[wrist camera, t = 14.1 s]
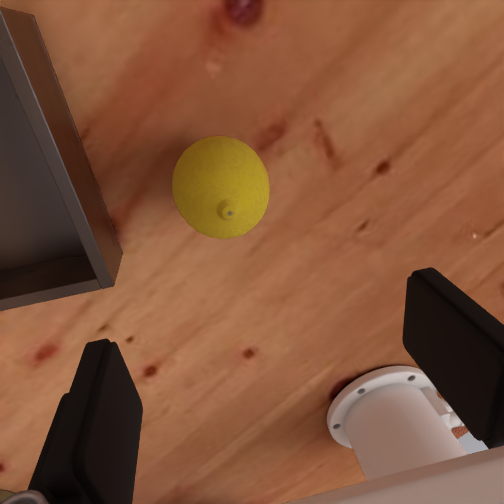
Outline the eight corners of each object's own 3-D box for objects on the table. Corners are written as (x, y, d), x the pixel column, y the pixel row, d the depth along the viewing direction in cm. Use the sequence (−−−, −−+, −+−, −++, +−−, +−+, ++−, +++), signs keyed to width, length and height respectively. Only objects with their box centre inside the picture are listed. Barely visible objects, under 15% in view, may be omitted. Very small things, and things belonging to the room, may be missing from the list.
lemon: (179, 210, 25) (180, 269, 18) (166, 128, 23) (162, 161, 16) (256, 201, 26) (285, 255, 19) (253, 121, 23) (285, 150, 16)
